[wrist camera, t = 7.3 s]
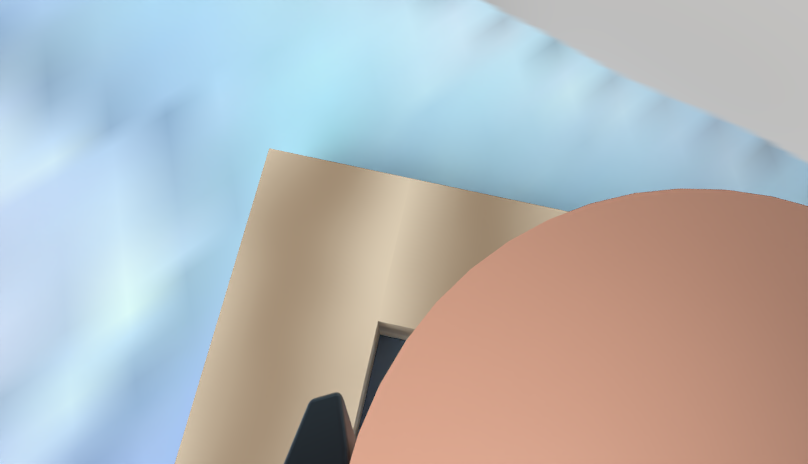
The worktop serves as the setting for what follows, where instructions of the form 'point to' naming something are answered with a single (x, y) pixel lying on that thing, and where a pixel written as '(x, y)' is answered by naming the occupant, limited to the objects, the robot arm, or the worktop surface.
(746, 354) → the terracotta peg
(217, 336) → the pocket block
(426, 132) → the worktop surface
